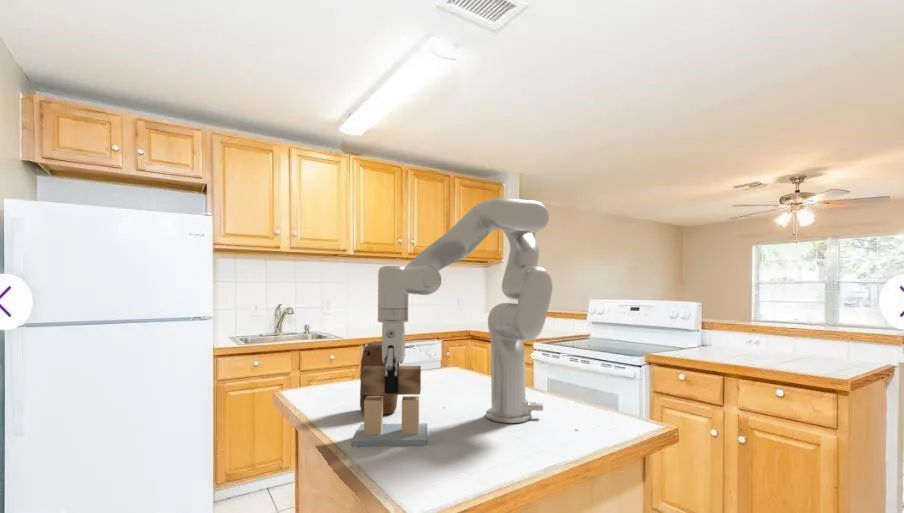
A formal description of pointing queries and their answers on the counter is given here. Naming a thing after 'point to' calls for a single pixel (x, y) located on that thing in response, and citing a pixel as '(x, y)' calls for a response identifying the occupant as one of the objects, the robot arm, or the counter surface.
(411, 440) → the base
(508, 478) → the counter surface
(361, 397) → the brown rounded tall lump
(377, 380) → the beam
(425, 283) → the robot arm
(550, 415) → the counter surface
